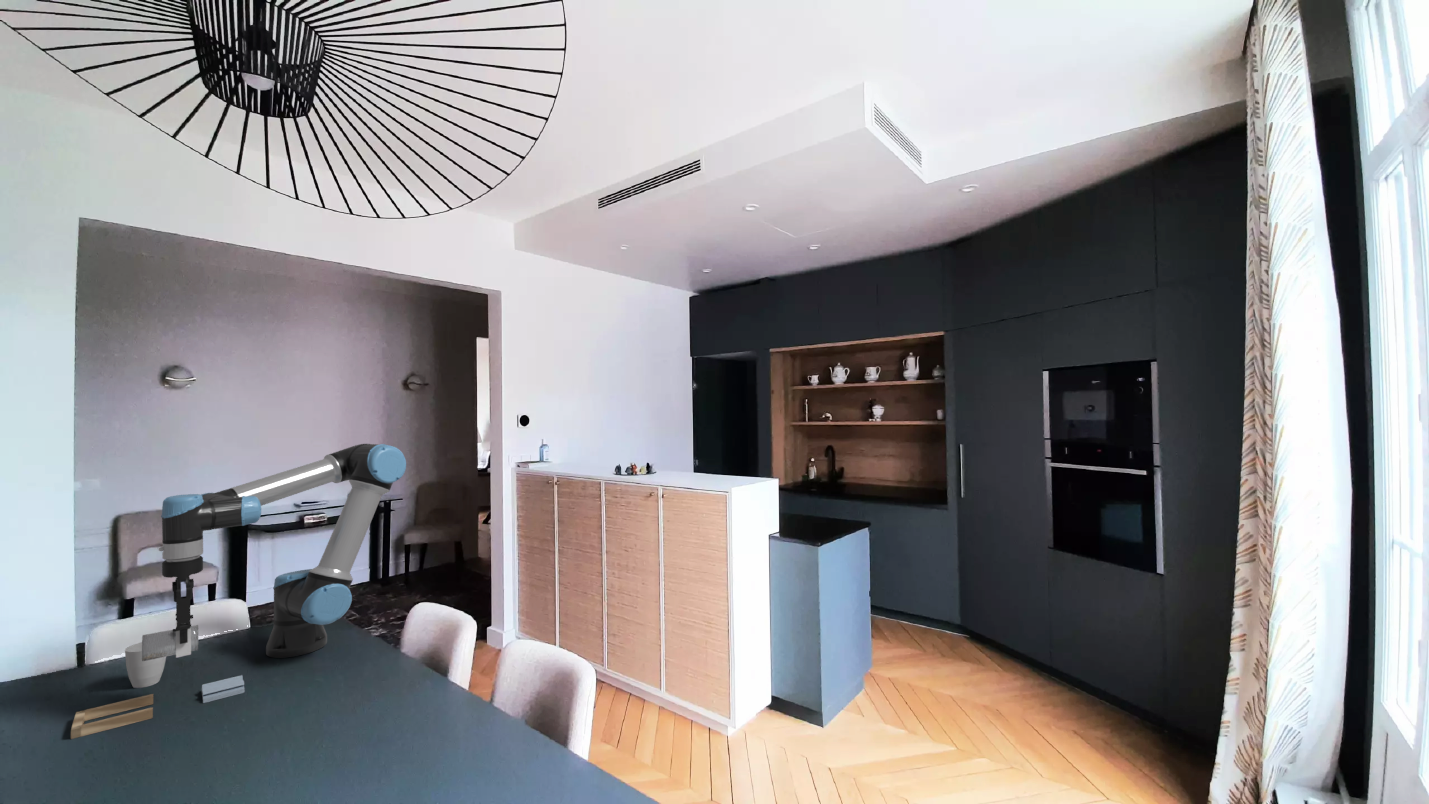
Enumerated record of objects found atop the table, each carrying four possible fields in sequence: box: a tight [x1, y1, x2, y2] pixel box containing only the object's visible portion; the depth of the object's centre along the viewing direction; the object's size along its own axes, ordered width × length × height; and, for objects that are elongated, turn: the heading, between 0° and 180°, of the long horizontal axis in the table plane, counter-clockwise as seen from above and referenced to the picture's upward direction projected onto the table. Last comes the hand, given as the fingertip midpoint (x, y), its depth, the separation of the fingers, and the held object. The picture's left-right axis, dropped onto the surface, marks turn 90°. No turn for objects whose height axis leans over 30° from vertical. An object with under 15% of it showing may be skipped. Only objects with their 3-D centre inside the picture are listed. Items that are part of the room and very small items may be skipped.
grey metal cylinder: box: [141, 624, 199, 661], centre depth 144 cm, size 10×6×6 cm, turn 133°
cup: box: [124, 641, 167, 689], centre depth 155 cm, size 8×8×10 cm
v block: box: [201, 674, 246, 704], centre depth 151 cm, size 8×8×2 cm
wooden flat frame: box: [70, 693, 154, 740], centre depth 137 cm, size 10×13×2 cm
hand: (183, 651), depth 146 cm, fingers closed on grey metal cylinder, 6 cm apart
